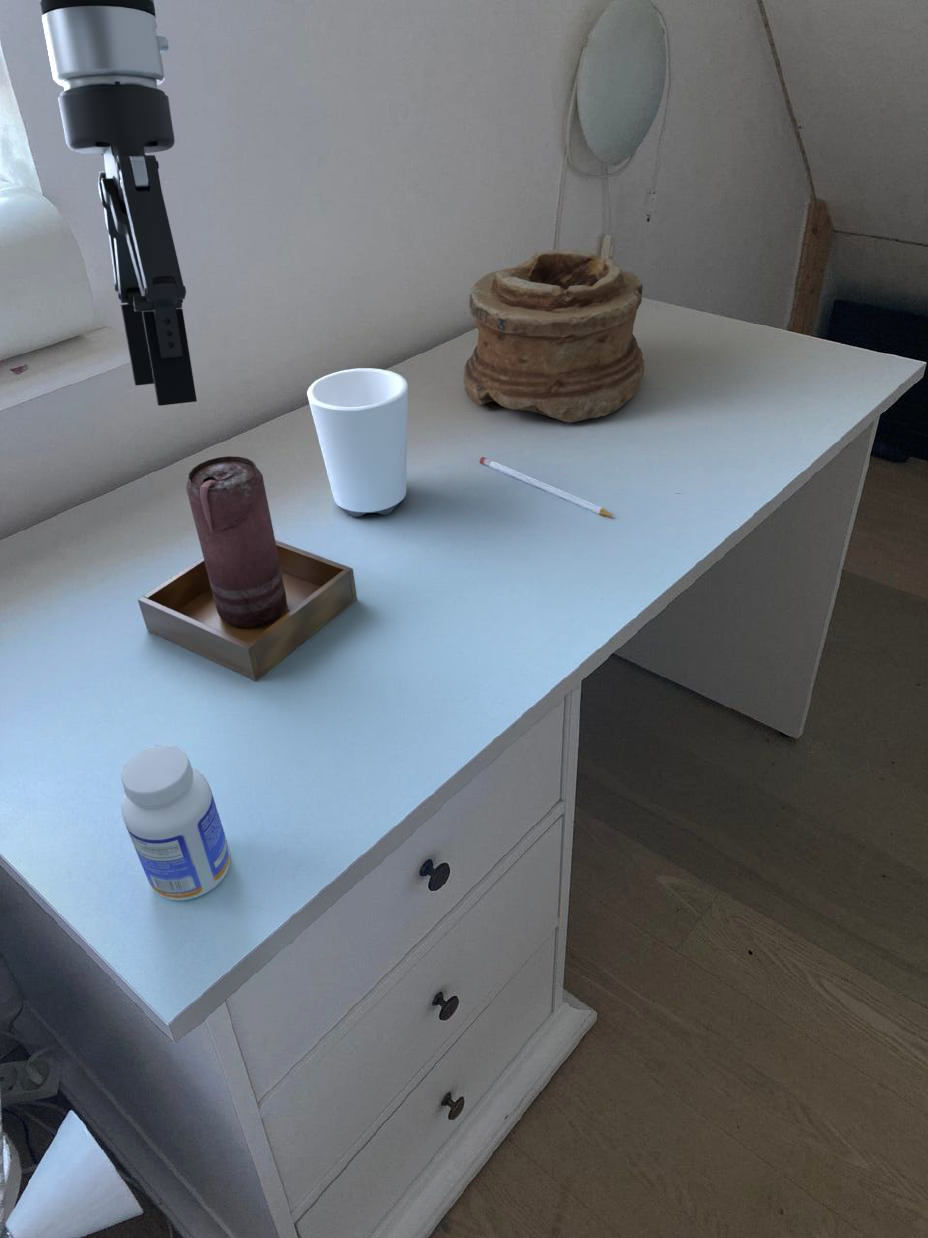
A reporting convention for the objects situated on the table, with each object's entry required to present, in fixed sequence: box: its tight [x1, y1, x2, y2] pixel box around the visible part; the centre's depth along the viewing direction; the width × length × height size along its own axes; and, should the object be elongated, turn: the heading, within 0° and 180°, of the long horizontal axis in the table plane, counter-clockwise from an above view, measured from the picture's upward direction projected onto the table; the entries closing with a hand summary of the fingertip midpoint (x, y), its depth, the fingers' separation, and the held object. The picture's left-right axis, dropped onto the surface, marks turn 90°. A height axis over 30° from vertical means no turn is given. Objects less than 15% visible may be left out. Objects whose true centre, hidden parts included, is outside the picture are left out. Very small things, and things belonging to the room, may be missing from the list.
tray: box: [137, 539, 358, 682], centre depth 83 cm, size 13×13×3 cm
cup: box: [306, 367, 409, 518], centre depth 96 cm, size 10×10×13 cm
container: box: [463, 249, 645, 423], centre depth 116 cm, size 22×24×15 cm
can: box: [185, 455, 287, 629], centre depth 80 cm, size 6×6×14 cm
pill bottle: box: [120, 744, 231, 902], centre depth 59 cm, size 5×5×10 cm
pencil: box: [478, 456, 616, 519], centre depth 100 cm, size 1×19×1 cm, turn 45°
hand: (163, 393), depth 75 cm, fingers open, 13 cm apart
